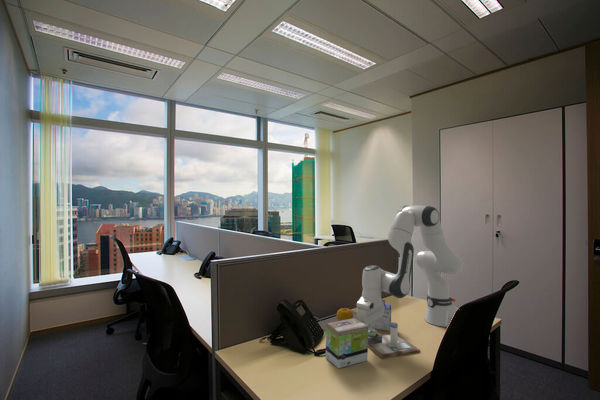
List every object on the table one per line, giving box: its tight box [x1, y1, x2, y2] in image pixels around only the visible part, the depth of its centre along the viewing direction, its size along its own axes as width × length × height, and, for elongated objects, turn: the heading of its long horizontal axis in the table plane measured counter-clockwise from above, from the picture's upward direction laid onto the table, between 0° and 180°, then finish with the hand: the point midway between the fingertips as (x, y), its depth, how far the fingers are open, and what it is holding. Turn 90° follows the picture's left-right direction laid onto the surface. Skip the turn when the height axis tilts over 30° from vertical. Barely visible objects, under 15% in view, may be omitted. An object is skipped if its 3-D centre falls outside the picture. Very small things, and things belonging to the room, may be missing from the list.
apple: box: [336, 307, 354, 321], centre depth 155 cm, size 9×9×9 cm
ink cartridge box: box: [374, 299, 392, 332], centre depth 152 cm, size 10×6×14 cm, turn 66°
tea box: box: [325, 317, 369, 369], centre depth 121 cm, size 15×10×15 cm
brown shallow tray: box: [368, 331, 421, 360], centre depth 132 cm, size 20×18×4 cm
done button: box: [368, 329, 377, 337], centre depth 135 cm, size 4×4×3 cm
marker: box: [389, 321, 398, 349], centre depth 129 cm, size 3×3×10 cm
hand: (371, 329), depth 135 cm, fingers closed
